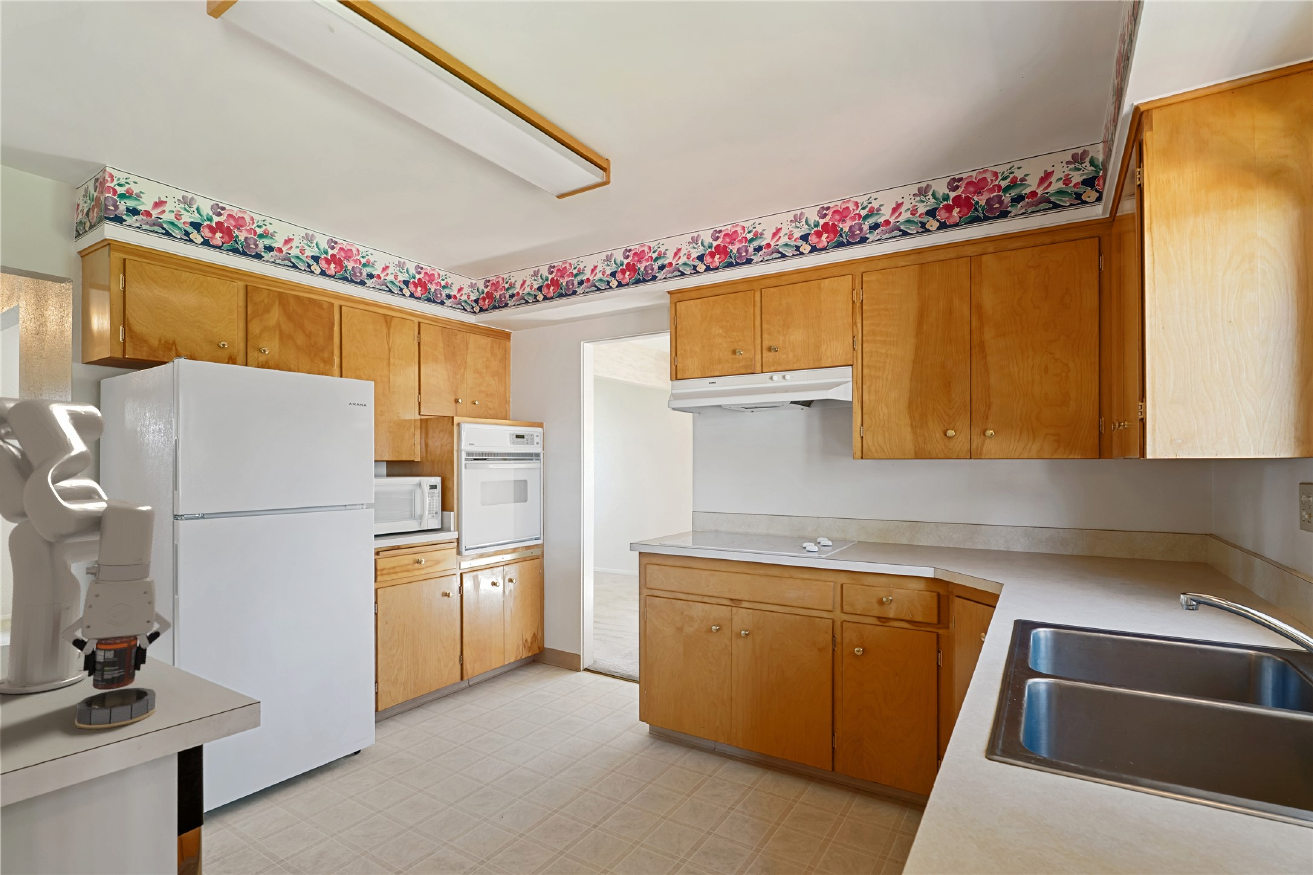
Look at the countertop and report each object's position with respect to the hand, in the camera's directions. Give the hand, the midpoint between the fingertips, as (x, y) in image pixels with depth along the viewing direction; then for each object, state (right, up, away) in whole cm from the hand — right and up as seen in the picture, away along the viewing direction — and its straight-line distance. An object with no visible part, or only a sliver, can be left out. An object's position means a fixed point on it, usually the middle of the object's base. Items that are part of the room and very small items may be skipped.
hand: (114, 670), depth 118 cm
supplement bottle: (0, -3, 0) cm, 3 cm away
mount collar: (+7, -5, -9) cm, 12 cm away
